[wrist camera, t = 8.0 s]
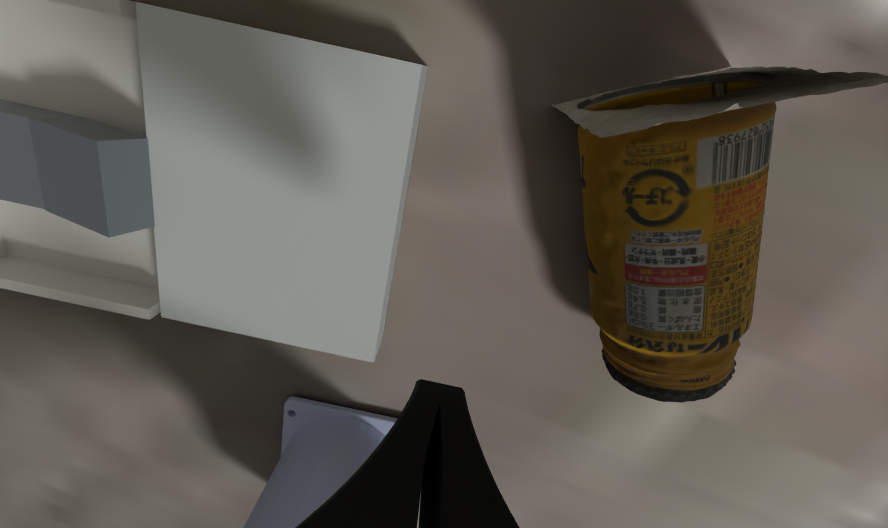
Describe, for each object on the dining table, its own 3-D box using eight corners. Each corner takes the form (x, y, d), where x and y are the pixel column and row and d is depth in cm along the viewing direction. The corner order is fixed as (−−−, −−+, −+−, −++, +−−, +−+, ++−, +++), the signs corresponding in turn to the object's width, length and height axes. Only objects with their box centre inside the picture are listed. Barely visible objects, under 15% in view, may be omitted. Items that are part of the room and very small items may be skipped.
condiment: (548, 101, 18) (572, 333, 23) (601, 130, 10) (620, 468, 15) (733, 61, 17) (716, 313, 22) (944, 61, 9) (846, 449, 14)
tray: (180, 297, 23) (149, 320, 21) (6, 260, 23) (-43, 278, 21) (164, 8, 18) (119, -3, 16) (-65, -42, 18) (-143, -60, 15)
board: (381, 340, 23) (373, 362, 22) (186, 298, 23) (161, 317, 22) (428, 66, 18) (422, 64, 16) (171, 10, 18) (135, 1, 16)
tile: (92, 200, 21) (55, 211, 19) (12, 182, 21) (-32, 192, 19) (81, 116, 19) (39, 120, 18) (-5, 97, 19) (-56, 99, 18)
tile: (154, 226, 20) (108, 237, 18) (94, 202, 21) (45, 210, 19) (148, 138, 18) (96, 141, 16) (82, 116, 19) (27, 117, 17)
